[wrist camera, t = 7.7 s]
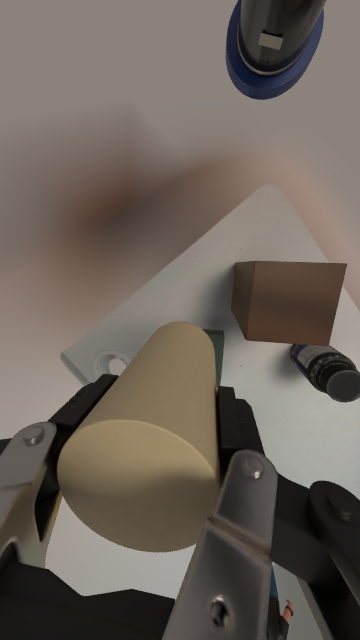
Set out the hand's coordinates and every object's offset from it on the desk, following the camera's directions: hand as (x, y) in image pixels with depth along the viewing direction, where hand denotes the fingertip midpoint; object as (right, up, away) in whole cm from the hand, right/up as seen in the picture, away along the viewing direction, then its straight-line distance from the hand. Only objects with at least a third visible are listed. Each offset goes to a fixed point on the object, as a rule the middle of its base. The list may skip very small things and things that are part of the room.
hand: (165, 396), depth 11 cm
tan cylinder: (+1, +1, +5) cm, 5 cm away
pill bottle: (+23, -2, +27) cm, 36 cm away
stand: (+14, +9, +25) cm, 30 cm away
